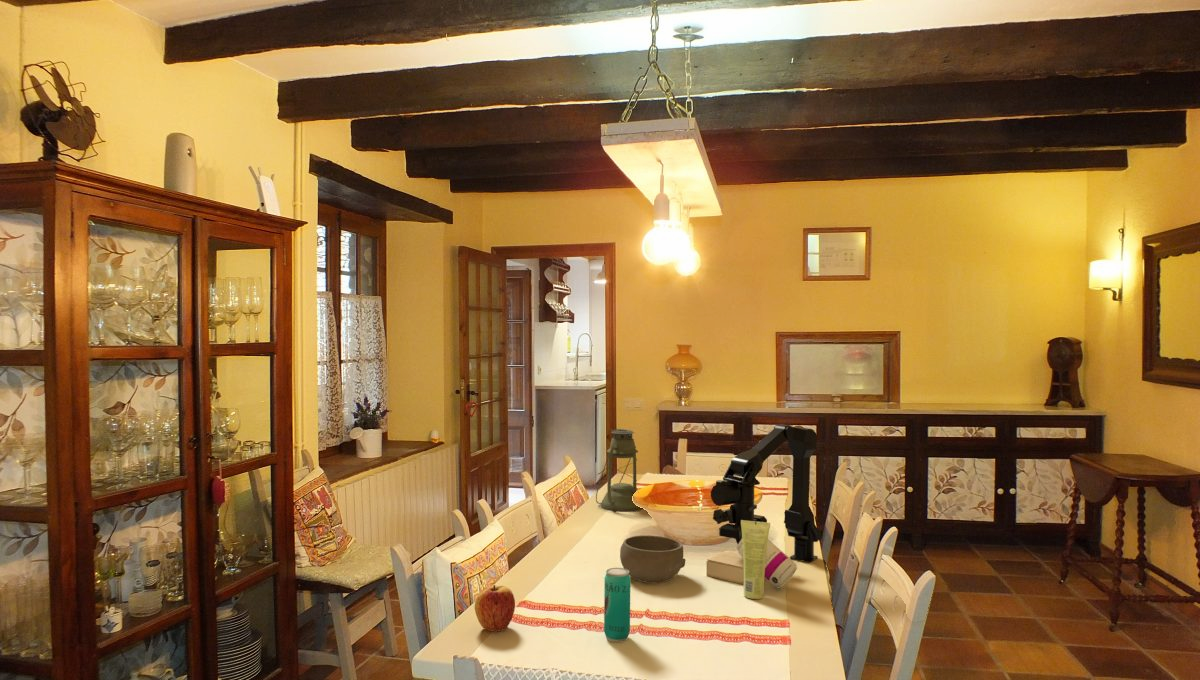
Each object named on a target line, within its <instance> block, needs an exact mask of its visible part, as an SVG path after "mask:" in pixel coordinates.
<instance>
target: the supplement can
mask: <svg viewBox="0 0 1200 680" xmlns="http://www.w3.org/2000/svg"><path fill="white" fill-rule="evenodd" d="M736 549H737V552H739V554H740V555H741V556H742V557H743V539H741V541H740V542H739V543H738V545H737V544H736ZM797 569H798V567H797V563H796V562H794V560H793V559H790V556H788V555H786V553H784V551H782V550H781V549H780V548H779V547H777V545H776V544H774V543H773V542H772V541H771V540H770V539H769V538H768V542H767V551H766V562H765V575H764V577H765V578H766V579H765V580H767V581H768V582H769V583H770V584H771V586H772V585H773V587H774V588H775V589H777V588H779V589H781V588H783V587H784V586H785V585H786V584H787V583H788V581H790V580H791V578H793V576H794V574H795V573H796V572H797Z"/></svg>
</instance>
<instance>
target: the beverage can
mask: <svg viewBox="0 0 1200 680" xmlns="http://www.w3.org/2000/svg"><path fill="white" fill-rule="evenodd" d="M605 573H606V574H605V576H604V589H603V590H604V593H603V594H604V595H603V597H604V599H603V600H604V601H603V602H604V603H603V604H604V605H603V606H604V608H603V616H604V617H603V631H604V636H605V638H606V639H607V641H608V642H611V643H623V642H626V641H627V640H628V638H629V635H630V633H631V576H630V575H629V570H627V569H624V568H623V567H611V568H607V569H606V570H605Z"/></svg>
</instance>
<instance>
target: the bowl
mask: <svg viewBox="0 0 1200 680" xmlns="http://www.w3.org/2000/svg"><path fill="white" fill-rule="evenodd" d="M619 558H620V563H621V565H622V568H624V569H627V570H629V576H630V578H632V579H634V580H637V581H639V582H644V583H649V584H656V583H664V582H667V581H670V580H672V579H674V578H675V577H676V576H677V575H678V573H680V570H681V569H682V568H684V567H685V565H686V558H684V546H683V543H682V542H680V540H677V539H674V538H671V537H666V536H662V535H661V536H659V535H647V534H645V535H641V534H640V535H635V536H630V537H627V538H625V539H624V540H623V542H622V544H621V546H620V550H619Z"/></svg>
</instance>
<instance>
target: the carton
mask: <svg viewBox="0 0 1200 680" xmlns="http://www.w3.org/2000/svg"><path fill="white" fill-rule="evenodd" d="M705 572H706V573H705V574H706V577H711V578H714V579H719V580H723V581H728V582H732V583H736V584H740V585H744V559H739V558H735V557H730V556H725V555H720V553H719V554H716V555H714V556H711V557H710V558H708V559H707V560H706V571H705ZM764 580H767V579H766V578H765V577H764Z"/></svg>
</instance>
